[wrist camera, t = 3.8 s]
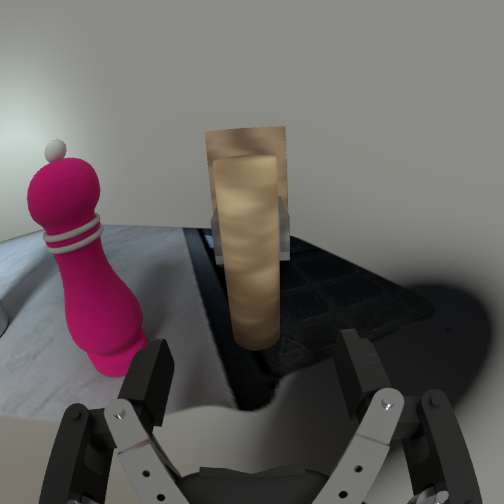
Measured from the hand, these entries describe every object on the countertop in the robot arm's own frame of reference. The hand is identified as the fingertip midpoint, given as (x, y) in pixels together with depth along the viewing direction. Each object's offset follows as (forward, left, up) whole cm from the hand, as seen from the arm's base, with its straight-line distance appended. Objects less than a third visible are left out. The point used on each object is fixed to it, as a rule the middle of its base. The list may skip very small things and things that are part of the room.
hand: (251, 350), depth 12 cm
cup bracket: (0, +23, -9) cm, 24 cm away
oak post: (0, +10, -9) cm, 14 cm away
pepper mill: (-13, +8, -9) cm, 18 cm away
